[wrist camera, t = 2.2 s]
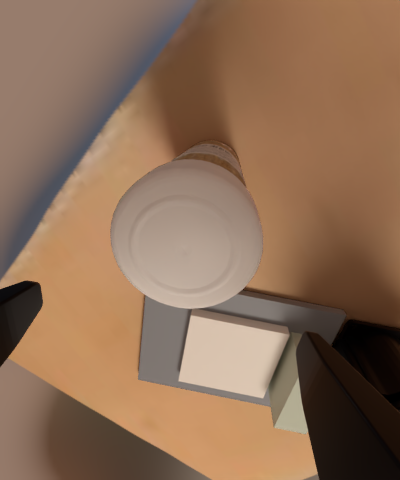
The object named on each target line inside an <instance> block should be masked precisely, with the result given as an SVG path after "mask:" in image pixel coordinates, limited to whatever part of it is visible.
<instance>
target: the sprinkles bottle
mask: <svg viewBox="0 0 400 480" xmlns="http://www.w3.org/2000/svg"><path fill="white" fill-rule="evenodd" d="M111 246H112V251H113V254H114V257H115V259H116V262H117V264H118V266H119V268H120V269H121V271H122V273H123V274H124V275H125V277H126V278H127V279H128V280H129V281H130V282H131V284H132V285H134V286H135V287H136V288H137V289H138V290H139V291H141V292H142V293H143V294H145V295H146V296H148V297H149V298H151V299H154V300H156V301H158V302H160V303H163V304H166V305H169V306H173V307H178V308H186V309H195V308H205V307H210V306H214V305H217V304H219V303H222V302H224V301H226V300H228V299H230V298H232V297H233V296H235V295H236V294H238V293H239V292H240V291H241V290H242V289H244V288H245V286H246V285H247V284H248V283H249V282H250V280H251V279H252V278H253V276H254V274H255V273H256V271H257V269H258V266H259V264H260V260H261V256H262V252H263V233H262V226H261V223H260V219H259V215H258V211H257V208H256V206H255V203H254V200H253V198H252V196H251V195H250V193H249V191H248V190H247V187H246V184H245V181H244V177H243V174H242V171H241V166H240V163H239V159H238V157H237V155H236V153H235V152H234V151H233V150H232V149H231V148H230V147H229V146H228V145H226V144H224V143H222V142H219V141H216V140H207V141H202V142H200V143H198V144H196V145H193V146H192V147H191V148H190V149H189V150H187V151H185V152H184V153H182V154H181V155H179V156H178V157H176V158H175V159H173V160H172V161H171V162H169V163H166V164H164V165H161V166H159V167H157V168H155V169H154V170H152V171H151V172H149V173H148V174H146V175H145V176H143V177H142V178H141V179H139V180H138V181H137V182H136V183H134V184H133V185H132V186H131V187H130V188H129V189H128V190H127V192H126V193H125V194H124V195H123V196H122V198H121V199H120V201H119V203H118V205H117V207H116V209H115V212H114V214H113V218H112V222H111Z"/></svg>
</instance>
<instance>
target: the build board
mask: <svg viewBox="0 0 400 480" xmlns="http://www.w3.org/2000/svg"><path fill="white" fill-rule="evenodd" d="M346 316H347V315H346V314H345V312H344V311H343V310H342V309H337V308H332V307H327V306H322V305H317V304H312V303H306V302H301V301H296V300H291V299H286V298H281V297H276V296H271V295H265V294H260V293H255V292H250V291H245V290H241V291H240V292H239V293H238V294H236V295H235V296H233V297H232V298H230V299H228V300H226V301H224V302H222V303H219V304H217V305H214V306H210V307H205V308H195V309H186V308H178V307H173V306H169V305H166V304H163V303H160V302H158V301H156V300H154V299H151V298H149V297H148V296H145V307H144V318H143V330H142V341H141V352H140V364H139V375H138V380H142V381H147V382H152V383H157V384H162V385H167V386H172V387H177V388H181V389H186V390H191V391H196V392H201V393H206V394H211V395H216V396H220V397H225V398H230V399H235V400H240V401H245V402H250V403H255V404H259V405H264V406H269V407H271V412H272V419H273V425H274V428H278V429H283V430H288V431H293V432H297V433H302V434H306V433H307V432H308V428H307V424H306V420H305V415H304V411H303V406H302V401H301V394H300V386H299V378H298V370H297V361H296V348H297V346H298V343H299V341H300V339H301V336H302V334H303V332H305V331H310V332H316V333H318V334H319V335H320V336H321V337H322V338H323V339H325V340H326V341H327V342H328V343H329V344H330V345H331V344H332V342H333V340H334V339H335V337H336V335H337V333H338V331H339V329H340V327H341V325H342V323H343V321H344V320H345V318H346Z"/></svg>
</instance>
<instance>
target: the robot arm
mask: <svg viewBox="0 0 400 480" xmlns="http://www.w3.org/2000/svg"><path fill="white" fill-rule="evenodd" d="M42 304H43V299H42V293H41V286H40V284H39V283H38V282H33V281H23V282H20V283H17V284H14V285H11V286H8V287H5V288H3V289H0V367H1V365H2V364H3V363H4V361H5V360H6V359H7V358H8V357H9V355H10V354H11V353H12V351H13V350H14V349H15V347H16V346H17V344H18V343H19V342H20V340H21V339H22V337H23V335H24V334H25V332H26V331H27V329H28V328H29V326H30V325H31V323H32V322H33V320H34V319H35V317H36V316H37V314H38V312H39V311H40V309H41V307H42ZM353 325H354V326H353ZM296 361H297V370H298V378H299V386H300V394H301V401H302V406H303V411H304V415H305V420H306V424H307V428H308V433H309V437H310V441H311V446H312V450H313V454H314V459H315V463H316V467H317V472H318V476H319V480H400V329H397V328H392V327H387V326H382V325H377V324H372V323H367V322H361V321H356V320H350V321H348V322H347V323H346V325H345V327H344V329H343V331H342V332H341V334H340V336H339V338H338V340H337V341H336V343H335V345H334V347H332V346H331V345H330V344H329V343H328V342H327V341H326V340H325V339H323V338H322V337H321V336H320V335H319V334H318V333H316V332H310V331H305V332H303V334H302V336H301V339H300V341H299V343H298V346H297V348H296Z"/></svg>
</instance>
